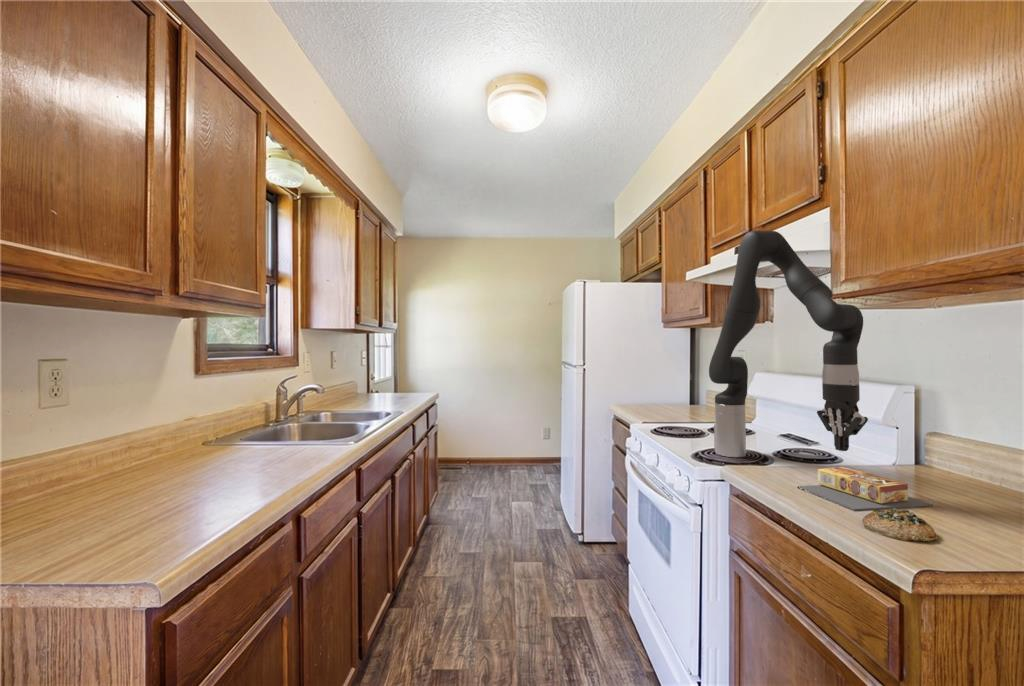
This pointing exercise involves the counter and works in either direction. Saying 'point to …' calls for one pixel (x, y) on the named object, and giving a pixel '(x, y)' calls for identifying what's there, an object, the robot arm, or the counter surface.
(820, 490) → the rubber mat
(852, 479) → the candy box
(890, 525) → the bread roll
